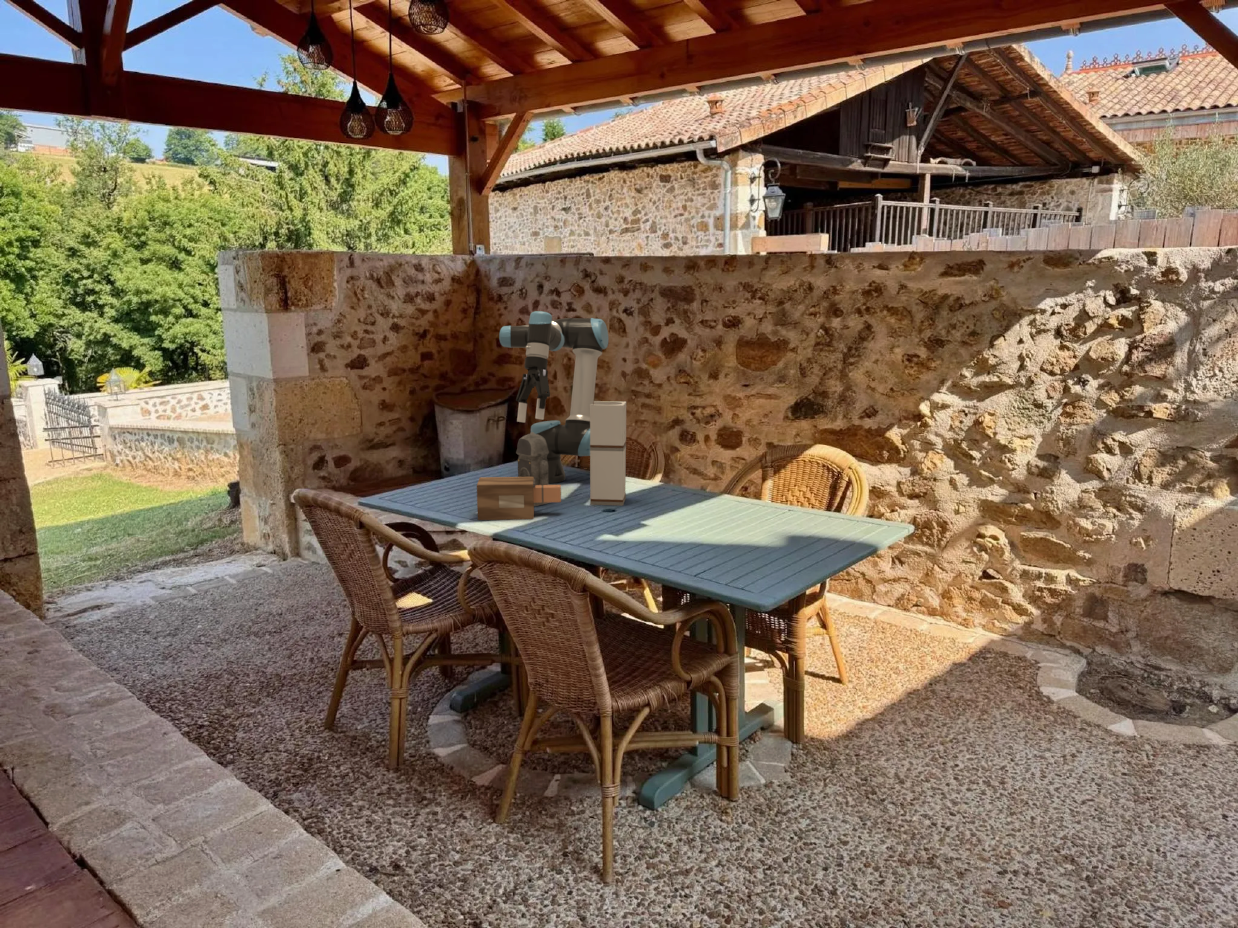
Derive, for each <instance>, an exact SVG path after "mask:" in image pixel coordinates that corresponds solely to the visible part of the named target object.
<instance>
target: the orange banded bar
mask: <svg viewBox="0 0 1238 928" xmlns="http://www.w3.org/2000/svg"><path fill="white" fill-rule="evenodd" d="M561 488H562V485H561V484H548V485H535V487H533V500H534V503H541V502H542V503H544V502H550V503H561V502H562V489H561Z"/></svg>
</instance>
